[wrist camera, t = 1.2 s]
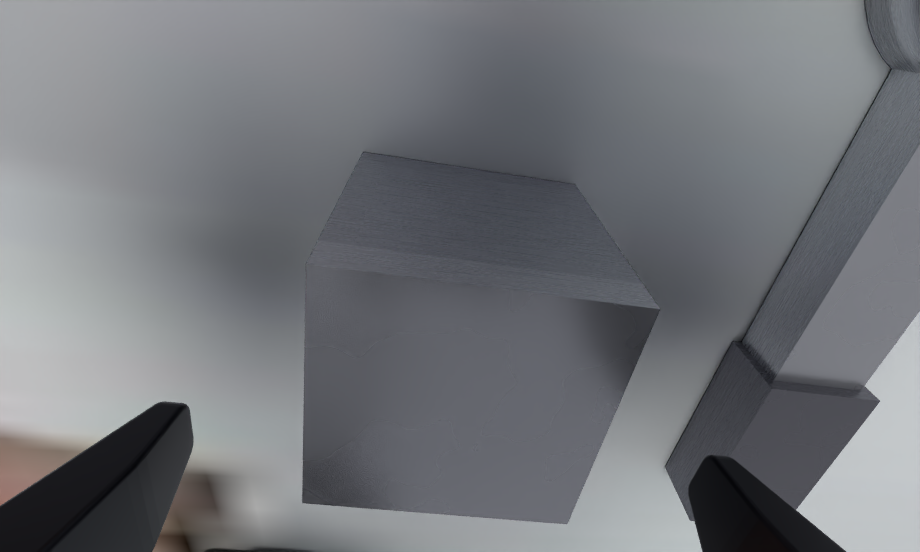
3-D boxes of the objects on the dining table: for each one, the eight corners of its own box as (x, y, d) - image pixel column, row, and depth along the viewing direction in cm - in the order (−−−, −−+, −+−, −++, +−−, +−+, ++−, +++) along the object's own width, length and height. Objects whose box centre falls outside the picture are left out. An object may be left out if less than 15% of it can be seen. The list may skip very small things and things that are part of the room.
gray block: (526, 350, 16) (567, 524, 11) (350, 329, 15) (302, 503, 10) (574, 184, 13) (659, 308, 8) (363, 151, 13) (305, 263, 7)
